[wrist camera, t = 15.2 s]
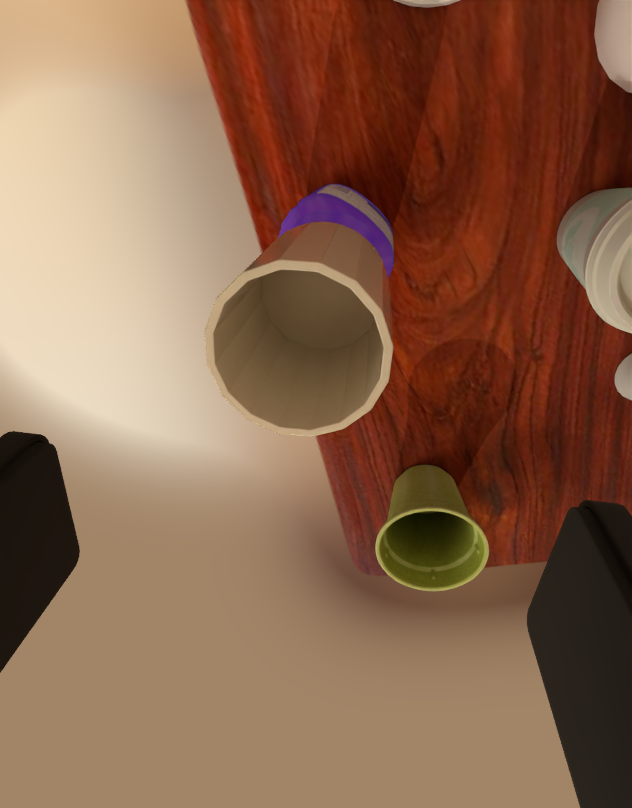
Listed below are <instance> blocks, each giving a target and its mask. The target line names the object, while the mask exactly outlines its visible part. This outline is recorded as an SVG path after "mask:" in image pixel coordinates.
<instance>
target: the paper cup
mask: <svg viewBox="0 0 632 808" xmlns="http://www.w3.org/2000/svg"><path fill="white" fill-rule="evenodd" d="M205 342H206V356H207V364H208V368H209V370H210V372H211V374H212V376H213V378H214V380H215V382H216V384H217V386H218V388H219V390H220V392H221V394H222V395H223V397H224V398H226V399H227V401H229V403H231V404H232V405H233V406H234V407H235V408H236V409H237V410H238V411H239V412H240V413H241V414H242V415H243V416H244V417H245V418H246V419H248V420H250V421H252V422H254V423H257V424H259V425H261V426H263V427H265V428H267V429H270V430H272V431H274V432H276V433H280V434H290V435H300V436H309V437H311V436H317V435H321V434H325V433H329V432H333V431H337V430H341V429H344V428H346V427H347V426H349V425H350V424H351V423H353V422H354V421H356V420H357V419H358V418H360V417H361V416H363V415H364V414H366V413H367V412H368V411H370V410H371V409H372V407H373V406H374V404H375V403H376V401H377V399H378V398H379V396H380V394H381V393H382V391H383V390H384V388H385V386H386V385H387V383H388V381H389V376H390V368H391V361H392V353H393V335H392V317H391V299H390V284H389V280H388V277H387V272H386V269H385V266H384V263H383V260H382V258H381V257H380V255H379V253H378V252H377V251H376V249H375V248H374V246H373V245H372V244H371V243H370V242H369V241H368V240H367V239H366V238H365V237H363V236H362V235H361V234H360V233H358V232H356V231H355V230H353V229H351V228H349V227H346V226H344V225H341V224H337V223H332V222H310V223H306V224H303V225H299V226H297V227H295V228H292V229H290V230H288V231H285V232H284V233H283V234H282V235H281V236H280V237H279V238H278V239H277V240H276V241H275V242H274V243H273V244H272V245H270V246H269V247H268V248H267V249H266V250H265V251H264V252H263V253H262V254H261V255H260V256H259V257H258V258H257V259H256V260H255V261H254V262H253V263H252V264H251V265H250V266H249V267H248V268H247V269H246V270H245V271H244V272H243V273H242V274H240V275H239V276H238V278H236V279H235V280H234V281H233V282H232V283H231V284H230V285H229V286H228V287H227V288H226V289H225V290H224V291H223V292H222V293H221V294H220V295H219V296H218V297H217V299H216V301H215V304H214V307H213V310H212V312H211V315H210V317H209V320H208V323H207V326H206V328H205Z"/></svg>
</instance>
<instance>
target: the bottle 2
mask: <svg viewBox="0 0 632 808" xmlns="http://www.w3.org/2000/svg"><path fill="white" fill-rule="evenodd" d="M594 36H595V42H596V47H597V53H598V59H599V61H600V63H601V64H602V66H603V68H604V70H605V71H606V73H607V75H608V77H609V78H610V79H611V80H612V81H613V82H615V83H616V84H617V85H619V86H620V87H621V88H623V89H624V90H625V91H627V92H630V93H632V0H600V1H599V3H598V7H597V15H596V23H595V32H594Z"/></svg>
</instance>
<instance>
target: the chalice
mask: <svg viewBox="0 0 632 808" xmlns="http://www.w3.org/2000/svg"><path fill="white" fill-rule="evenodd" d="M615 386H616V388H617V391H618V392H619V393H620V394H621V395H622V396H623V397H625V398H628V399H630V400H632V353H631V354H630V355H629V356H627V357H626V358H625V359H624V360H623V361H622V363H621V364H620V365H619V366H618V369H617V371H616V374H615Z"/></svg>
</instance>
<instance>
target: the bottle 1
mask: <svg viewBox="0 0 632 808" xmlns="http://www.w3.org/2000/svg"><path fill="white" fill-rule="evenodd" d="M310 222H332V223H337V224H341V225H344V226H346V227H349V228H351V229H353V230H355V231H356V232H358V233H360V234H361V235H362V236H363V237H365V238H366V239H367V240H368V241H369V242H370V243H371V244H372V245H373V246H374V248H375V249H376V251H377V252H378V253H379V255H380V257H381V258H382V260H383V263H384V266H385V269H386V272H387V277H389V275H390V273H391V271H392V269H393V264H394V249H393V232H392V228H391V225H390V223H389V221H388V220H387V218H386V217H385V216H384V214H383V213H382V212H381V211H380V210H379V209H378V208H377V207H376V206H375V205H374V204H373V203H372V202H371V201H370V200H368V199H367V198H366V197H364V196H363V195H361V194H360V193H358V192H357V191H355V190H353V189H352V188H349V187H347V186H345V185H341V184H329V185H325V186H323V187H321V188H319V189H317V190H316V191H314V192H313V193H311V194H310V195H308V196H307V197H305V198H303V199H302V200H300V202H299V203H298V205H297V206H296V207H294V208H293V209H291V211H290V212H289V214H288V215H287V217H286V218H285V220H284V222H283V224H282V226H281V231H280V234H279V237H280V236H281V235H282V234H283V233H284V232H285V231H288V230H290V229H292V228H295V227H297V226H299V225H303V224H306V223H310Z"/></svg>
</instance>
